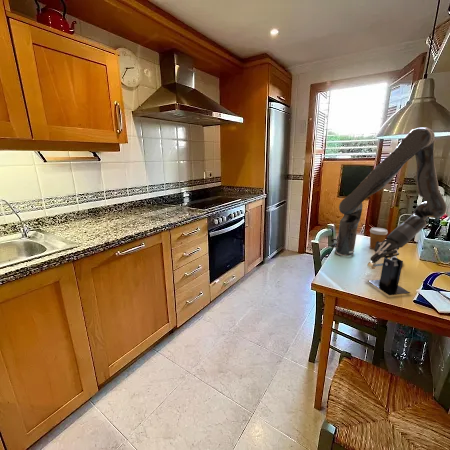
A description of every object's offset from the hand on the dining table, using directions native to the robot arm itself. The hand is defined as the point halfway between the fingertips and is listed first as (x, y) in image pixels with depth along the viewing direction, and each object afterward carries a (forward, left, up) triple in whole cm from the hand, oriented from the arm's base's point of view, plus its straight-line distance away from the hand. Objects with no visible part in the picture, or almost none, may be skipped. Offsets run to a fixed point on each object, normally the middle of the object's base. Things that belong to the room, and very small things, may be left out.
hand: (372, 260), depth 113 cm
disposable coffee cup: (-32, +31, -8) cm, 45 cm away
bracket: (+11, 0, -8) cm, 14 cm away
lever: (+6, 0, -1) cm, 6 cm away
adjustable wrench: (-17, +30, -8) cm, 36 cm away
